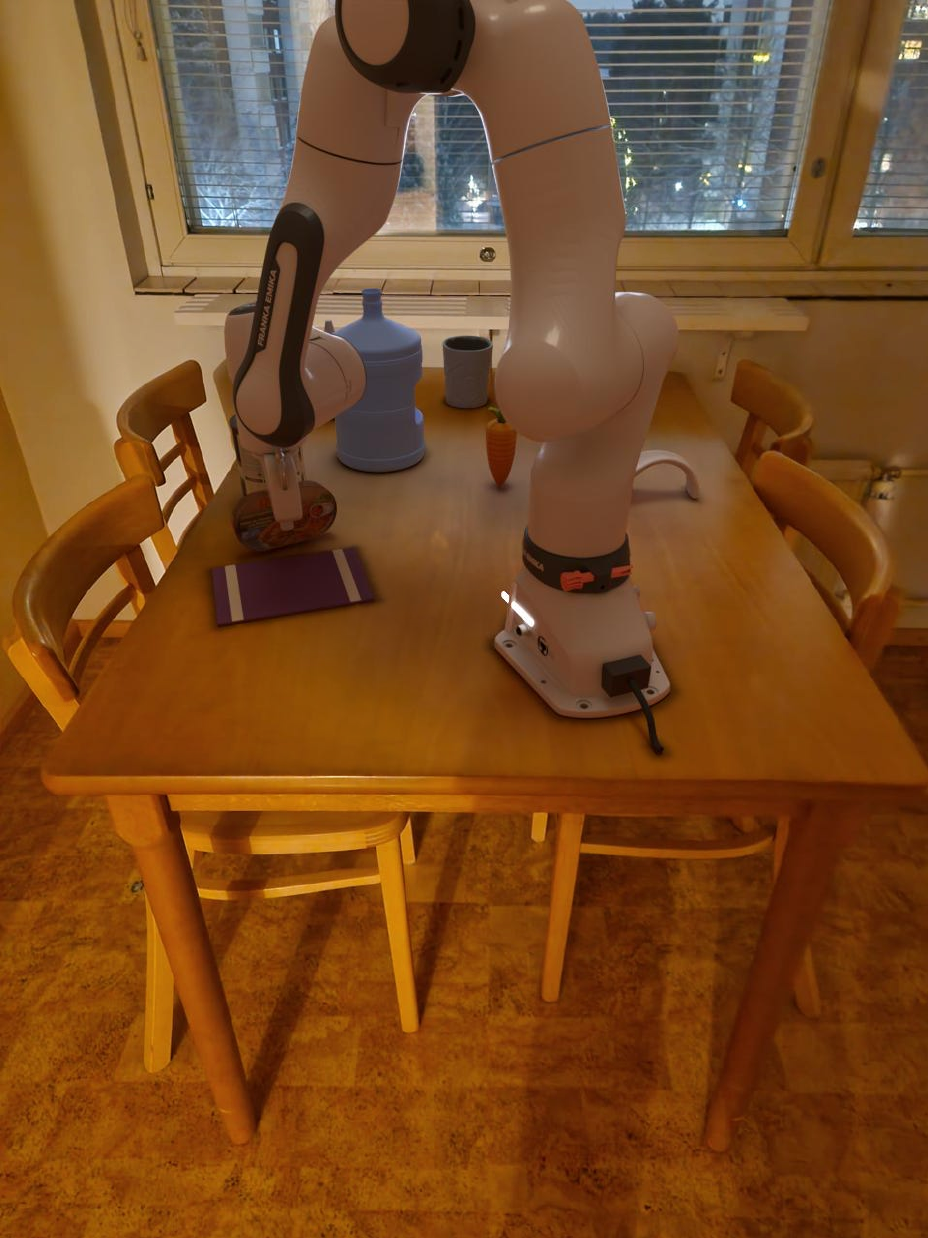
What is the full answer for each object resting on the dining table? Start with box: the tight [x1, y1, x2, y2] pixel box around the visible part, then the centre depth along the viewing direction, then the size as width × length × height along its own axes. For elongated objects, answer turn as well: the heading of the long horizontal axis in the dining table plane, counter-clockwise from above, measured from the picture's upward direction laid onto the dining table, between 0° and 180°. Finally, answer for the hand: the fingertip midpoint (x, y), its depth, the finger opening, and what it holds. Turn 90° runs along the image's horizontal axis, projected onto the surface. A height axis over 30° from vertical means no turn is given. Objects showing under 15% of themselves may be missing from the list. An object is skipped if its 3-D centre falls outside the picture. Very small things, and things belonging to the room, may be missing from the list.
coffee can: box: [228, 413, 307, 498], centre depth 125 cm, size 10×10×14 cm
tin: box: [230, 479, 338, 552], centre depth 115 cm, size 15×3×8 cm, turn 119°
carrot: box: [485, 406, 518, 488], centre depth 130 cm, size 5×5×15 cm
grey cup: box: [441, 335, 494, 409], centre depth 164 cm, size 10×10×12 cm
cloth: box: [211, 546, 376, 628], centre depth 109 cm, size 14×20×1 cm
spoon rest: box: [634, 449, 700, 499], centre depth 129 cm, size 24×12×7 cm, turn 93°
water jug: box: [332, 288, 426, 473], centre depth 136 cm, size 16×16×28 cm
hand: (285, 521), depth 115 cm, fingers closed on tin, 3 cm apart
